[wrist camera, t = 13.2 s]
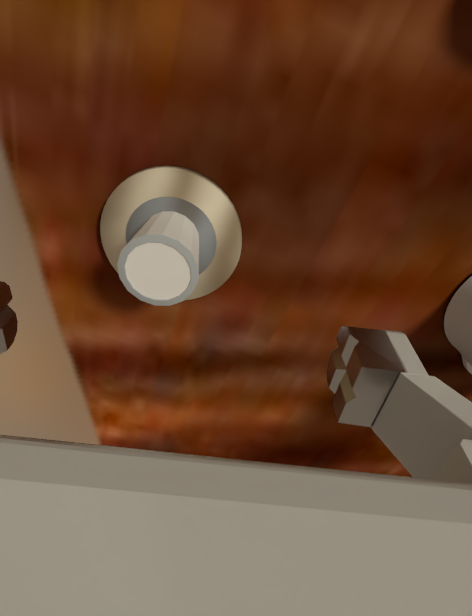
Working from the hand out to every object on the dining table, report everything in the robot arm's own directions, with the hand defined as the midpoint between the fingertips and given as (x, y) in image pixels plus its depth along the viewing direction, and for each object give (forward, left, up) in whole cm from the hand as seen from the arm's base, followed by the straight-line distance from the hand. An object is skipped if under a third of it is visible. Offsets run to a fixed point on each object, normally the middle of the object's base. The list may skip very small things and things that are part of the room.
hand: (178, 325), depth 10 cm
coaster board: (+4, +11, -29) cm, 31 cm away
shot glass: (+4, +11, -28) cm, 30 cm away
